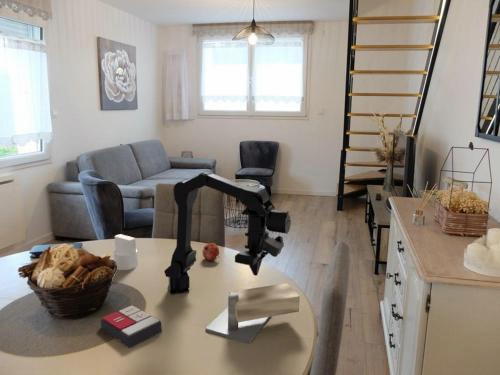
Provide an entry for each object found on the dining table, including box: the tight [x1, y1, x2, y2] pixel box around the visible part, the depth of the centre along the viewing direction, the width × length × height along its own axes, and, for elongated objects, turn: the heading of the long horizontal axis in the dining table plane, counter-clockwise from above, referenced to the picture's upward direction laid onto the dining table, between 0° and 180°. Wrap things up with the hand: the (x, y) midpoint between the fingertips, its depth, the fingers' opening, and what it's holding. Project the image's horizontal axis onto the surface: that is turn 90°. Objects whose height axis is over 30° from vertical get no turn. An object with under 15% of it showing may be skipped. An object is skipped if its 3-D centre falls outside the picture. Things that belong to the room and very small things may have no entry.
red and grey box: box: [100, 305, 163, 349], centre depth 120 cm, size 11×4×15 cm
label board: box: [205, 306, 271, 344], centre depth 129 cm, size 14×26×1 cm, turn 155°
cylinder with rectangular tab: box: [113, 233, 139, 271], centre depth 163 cm, size 9×9×12 cm
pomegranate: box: [202, 242, 220, 262], centre depth 171 cm, size 7×7×10 cm
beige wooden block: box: [227, 282, 300, 330], centre depth 122 cm, size 9×20×10 cm, turn 110°
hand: (255, 275), depth 132 cm, fingers closed
